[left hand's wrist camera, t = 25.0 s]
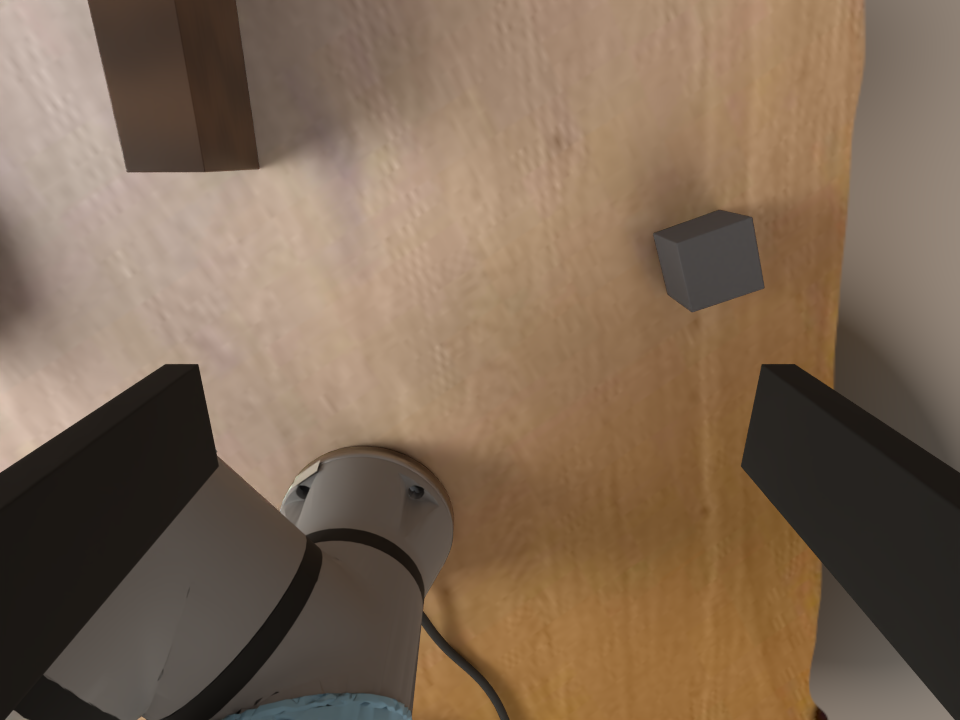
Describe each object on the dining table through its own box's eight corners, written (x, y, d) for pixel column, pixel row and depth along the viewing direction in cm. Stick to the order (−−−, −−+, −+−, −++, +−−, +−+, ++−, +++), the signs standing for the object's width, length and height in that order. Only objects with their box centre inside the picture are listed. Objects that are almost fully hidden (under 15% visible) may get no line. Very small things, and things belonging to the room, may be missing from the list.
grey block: (732, 273, 40) (765, 288, 36) (667, 295, 41) (691, 312, 36) (719, 209, 39) (752, 216, 34) (652, 233, 39) (676, 243, 35)
